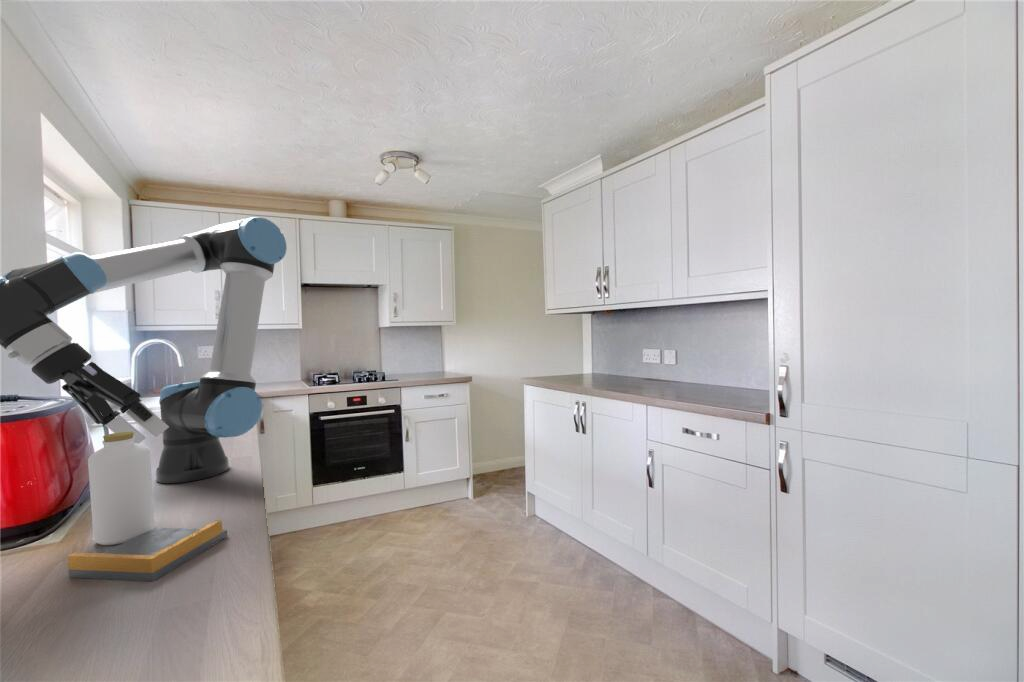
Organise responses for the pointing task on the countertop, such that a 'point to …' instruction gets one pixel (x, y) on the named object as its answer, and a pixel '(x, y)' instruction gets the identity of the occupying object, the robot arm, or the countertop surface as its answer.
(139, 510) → the white bottle
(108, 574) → the plate
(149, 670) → the countertop surface
